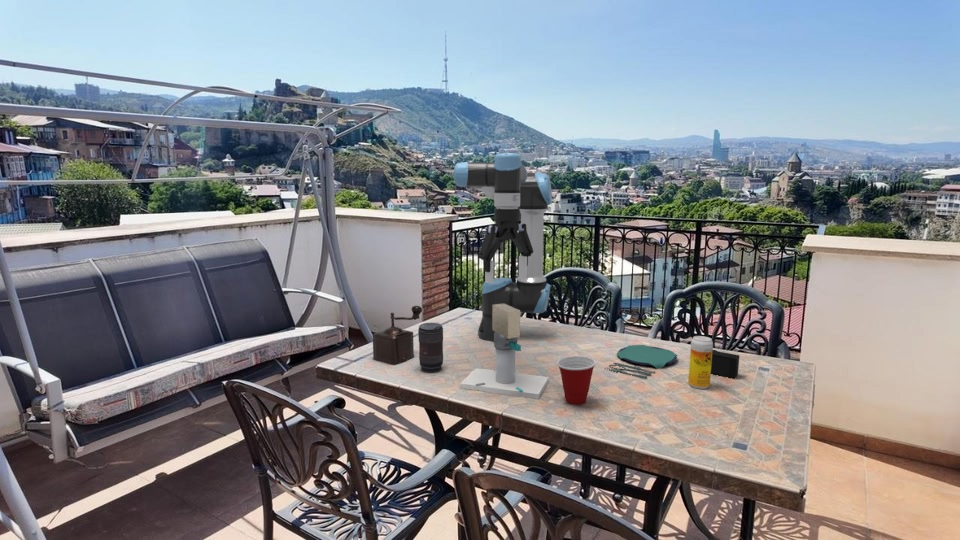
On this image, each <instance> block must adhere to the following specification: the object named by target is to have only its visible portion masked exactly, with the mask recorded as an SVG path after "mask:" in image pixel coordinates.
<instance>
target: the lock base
mask: <svg viewBox="0 0 960 540" xmlns="http://www.w3.org/2000/svg"><path fill="white" fill-rule="evenodd" d="M516 352H517V351H516V350H514V349H512V350H501V349H497V348H495V370H494V369H487V368H486V369H485V368H478V367H476V368H474V370H473V371H471V372H470V374H468V375H467V377H465V378H464V379H463V380H462V381H461V382H460V384H459V385H460V387H459V389H462V388H465V389H464V390H469V389H472V390H471V391H477V390H479V391H478V392H484V391H485V393H491V394H499V395H505V396H507V395H508V396H512V397H513V396H515V397H521V398H527V399H528V398H529V399H535V400H536V399H537V400H539V399H540V397H541V396H542V394H543V393H544V390H545V389H546V388H547V385H548V384H549V381H550V377H549V376H544V375H543V376H542V375H534V374H525V373H517V372H516V355H517V353H516Z"/></svg>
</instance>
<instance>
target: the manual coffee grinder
mask: <svg viewBox="0 0 960 540" xmlns="http://www.w3.org/2000/svg"><path fill="white" fill-rule="evenodd" d="M410 310H411V312H412V316H411V317H406V316H401V317H400V316H398V317H395V312H390V321H391V322H390V323H391V326H390V327H388V328H386V329H384V330H381V331H378V332H374V333H372V352H373V353H372V355H373V357H372V359H373V360H374V361H378V362H381V363H383V364H384V363H385V364H388V365H392V366H395V365H398V364H401V363H403V362H404V363H405V362H406V361H408V360H410V359H412V358H414V357H415V352H414V332H413V331H410V330H406V329H402V328H401V327H398V326H396V325H395V320H396V321H402V320H403V321H412V320H414V321H416V320H417V319H420V315H421V313H423V308H422V307H421V306H419V305H413V306H412V307H411V309H410Z"/></svg>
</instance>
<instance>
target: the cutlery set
mask: <svg viewBox="0 0 960 540" xmlns="http://www.w3.org/2000/svg"><path fill="white" fill-rule="evenodd" d="M616 352H617V353H616V357H618V358H619V359H620V360H625V361H626V362H628V363H633V364H636V365H640V366H641V365H642V366H653V367H655V369H657V368H659V369H662V368H663V367H665V366H666V365H670V364H672V363H674V362H676V361H677V359H678V355H677V353H675V352H674V351H672V350H670V349H665V348H661V347H657V346H651V345H645V344H632V345H628V346H626V347H622V348H620V349H619V350H618V351H616ZM617 364H618V365H617ZM636 365H634V366H633V365H628V364H624V363H621V362H620V363H619V362H613V364H609V365H608V366H609V367H610V368H608V367H605V368H604V370H605V369H606V368H607V369H609V372H612V371H613V372H612V373H615V372H616V374H618V372H620V373H619V374H624V375H626V376H631V375H632V376H631V377H635V378H641V379H644V380H648V376H652V373H653V374H656V371H655V370H654V371H652V370H648V369H645V368H641V367H640V366H636ZM611 366H612V368H611ZM616 366H619V367H617V368H616ZM625 366H626V367H625ZM621 367H622V368H621ZM613 368H614V369H613ZM623 368H624V369H623ZM629 368H630V369H629ZM610 369H611V370H610ZM617 369H619V370H617ZM626 371H627V372H626ZM629 371H630V372H634V373H630V372H629ZM636 373H640V374H636Z"/></svg>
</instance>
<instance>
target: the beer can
mask: <svg viewBox="0 0 960 540" xmlns="http://www.w3.org/2000/svg"><path fill="white" fill-rule="evenodd" d="M713 347H714V343H713V340H712V338H711V337H708V336H704V335H703V336H702V335H695V336H693V337H692V339H691V340H690V352H689V353H690V355H689V364H688V368H689V369H688V379H687V380H688V381H687V382H688V384H689V386H690V387H692V388H694V389H698V390H705V389H708V388H709V387H710V385H711V376H712V375H711V364H712V351H713V350H714V348H713Z"/></svg>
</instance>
